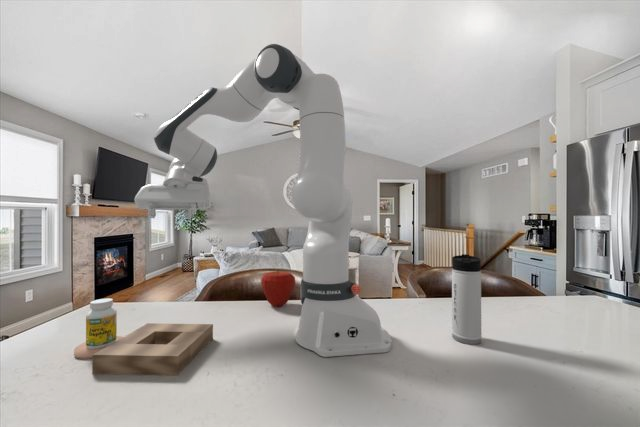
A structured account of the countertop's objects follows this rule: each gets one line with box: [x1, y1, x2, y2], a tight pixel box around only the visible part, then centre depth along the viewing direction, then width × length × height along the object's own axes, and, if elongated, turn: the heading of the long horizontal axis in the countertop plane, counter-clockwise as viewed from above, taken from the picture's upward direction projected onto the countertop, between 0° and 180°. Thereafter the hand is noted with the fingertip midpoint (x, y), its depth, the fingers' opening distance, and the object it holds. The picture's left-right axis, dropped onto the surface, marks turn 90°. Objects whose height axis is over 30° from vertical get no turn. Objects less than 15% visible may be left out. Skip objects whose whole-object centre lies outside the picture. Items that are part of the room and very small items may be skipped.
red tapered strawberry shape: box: [260, 269, 296, 308], centre depth 95 cm, size 11×11×12 cm
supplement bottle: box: [85, 298, 118, 349], centre depth 63 cm, size 5×5×10 cm
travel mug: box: [451, 253, 483, 345], centre depth 69 cm, size 6×7×20 cm
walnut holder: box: [91, 322, 214, 376], centre depth 60 cm, size 16×16×4 cm
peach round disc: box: [73, 335, 124, 360], centre depth 63 cm, size 9×9×1 cm
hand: (169, 216), depth 80 cm, fingers open, 8 cm apart
